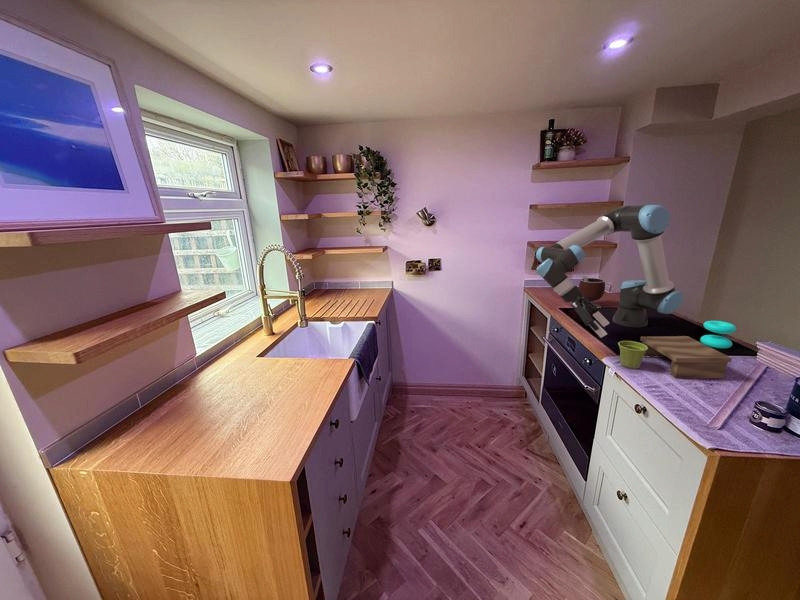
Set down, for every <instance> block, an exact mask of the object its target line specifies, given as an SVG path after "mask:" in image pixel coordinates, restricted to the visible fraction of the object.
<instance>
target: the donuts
mask: <svg viewBox="0 0 800 600" xmlns="http://www.w3.org/2000/svg"><path fill="white" fill-rule="evenodd" d="M703 328H704V329H706V330H708V332H712V333H716V334H705V335H702V336H701V337H700V340H699V342H701V343H703V344H705V345H707V346H709V347H711V348H714V349H715V348H716V349H729V348H731V347H732V346H733V342H732V341H731V340H730V339H729V338H727V337H725V336H723V335H722V336H721V335H717V334H724V335H727V334H728V335H729V334H733V333H735V332H736V331H737V327H736V326H735V325H734V324H733V323H730V322H727V321H722V320H707V321H705V322H704V323H703Z"/></svg>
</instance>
